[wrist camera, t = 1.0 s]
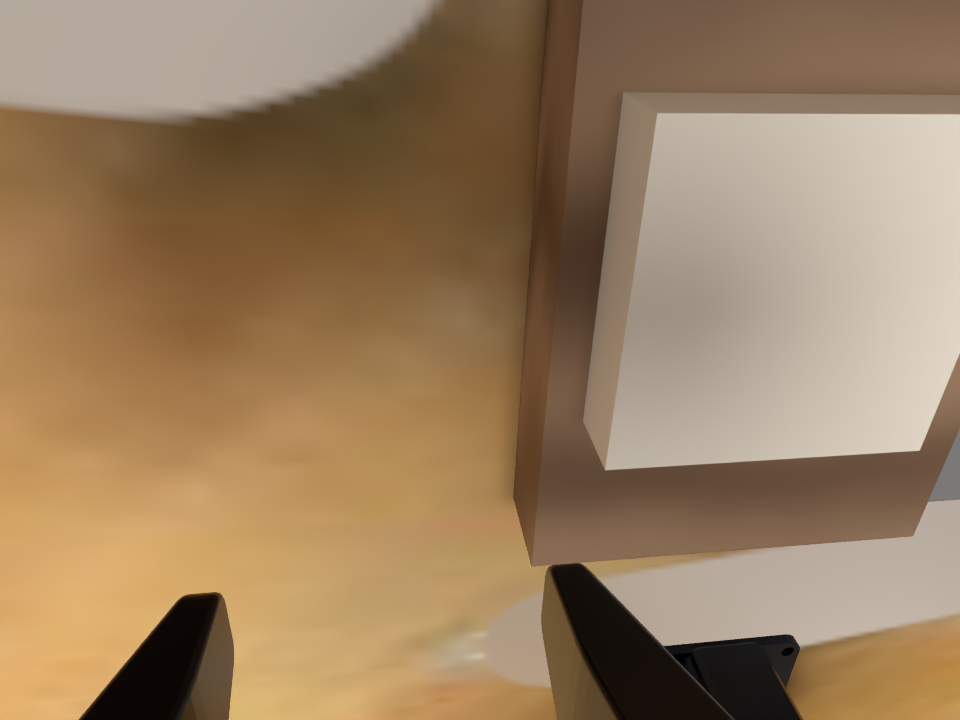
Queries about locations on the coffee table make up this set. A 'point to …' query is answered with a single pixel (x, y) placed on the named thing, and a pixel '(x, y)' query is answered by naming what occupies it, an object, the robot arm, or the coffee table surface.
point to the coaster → (776, 277)
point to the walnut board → (579, 255)
